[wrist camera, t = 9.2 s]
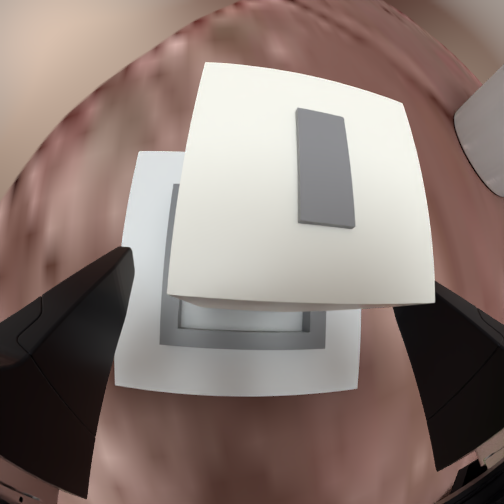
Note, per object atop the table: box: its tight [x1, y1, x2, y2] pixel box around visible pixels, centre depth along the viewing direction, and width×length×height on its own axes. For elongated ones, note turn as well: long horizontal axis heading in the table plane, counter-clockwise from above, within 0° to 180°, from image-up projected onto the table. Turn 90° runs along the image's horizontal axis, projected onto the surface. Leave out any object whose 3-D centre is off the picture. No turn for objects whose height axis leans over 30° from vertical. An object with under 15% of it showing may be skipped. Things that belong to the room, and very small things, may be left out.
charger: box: [167, 62, 435, 312], centre depth 11 cm, size 5×5×13 cm
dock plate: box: [114, 151, 361, 396], centre depth 17 cm, size 16×16×3 cm
